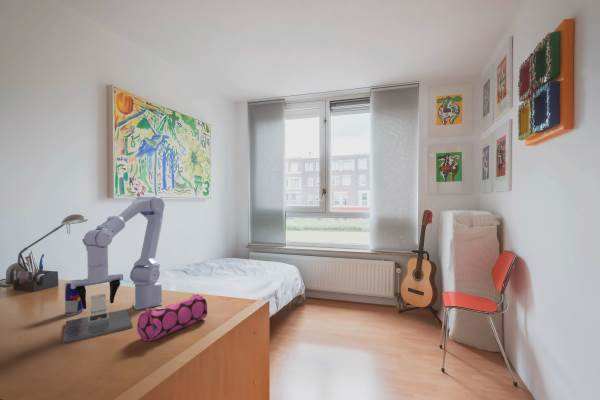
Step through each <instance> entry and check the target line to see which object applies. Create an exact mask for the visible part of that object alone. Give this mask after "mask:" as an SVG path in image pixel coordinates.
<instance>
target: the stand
mask: <svg viewBox="0 0 600 400" xmlns="http://www.w3.org/2000/svg"><path fill="white" fill-rule="evenodd" d="M133 325H134V324H133V323H132V319H131V317H130V315H129V312H128V310H127V309H126V308H125V309H120V310H116V311H109V312H106V313H103V314H98V315H93V316H91V315H90V316H89V315H88V316H84V317H79V318H74V319H70V320H66V321H65V324H64V330H63V331H64V333H63V338H62V339H63V340H62V344H63V345H65V344H69V343H73V342H76V341H82V340H85V339H89V338H95V337H99V336H104V335H106V334H112V333H117V332H120V331H125V330H129V329H133Z"/></svg>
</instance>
